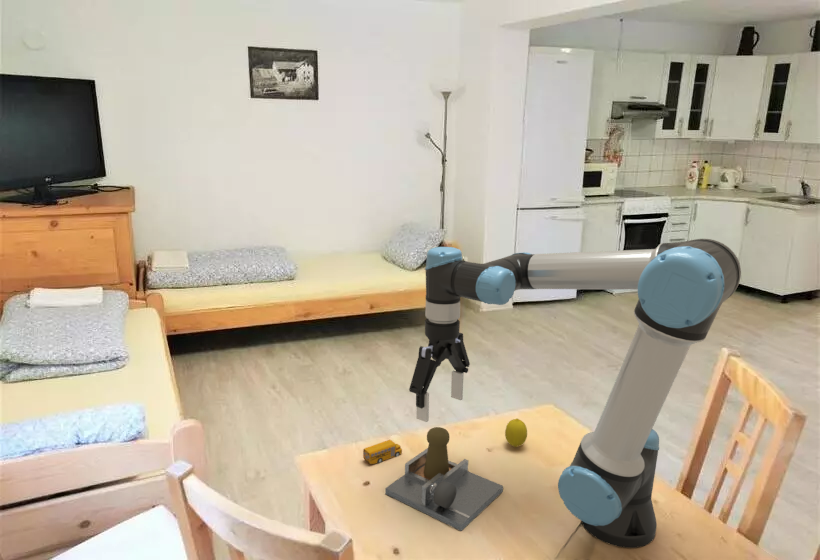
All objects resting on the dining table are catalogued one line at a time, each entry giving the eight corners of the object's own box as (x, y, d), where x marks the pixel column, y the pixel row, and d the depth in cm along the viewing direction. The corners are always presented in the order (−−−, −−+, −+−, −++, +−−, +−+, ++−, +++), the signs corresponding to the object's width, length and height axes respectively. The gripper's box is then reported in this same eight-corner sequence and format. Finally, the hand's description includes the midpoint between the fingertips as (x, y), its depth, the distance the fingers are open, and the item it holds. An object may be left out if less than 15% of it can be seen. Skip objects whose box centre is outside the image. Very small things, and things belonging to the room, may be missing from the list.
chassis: (502, 491, 137) (504, 468, 136) (460, 531, 124) (462, 505, 122) (430, 461, 149) (431, 439, 147) (385, 494, 135) (385, 470, 134)
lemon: (500, 443, 158) (502, 415, 156) (519, 440, 160) (521, 412, 157) (510, 454, 153) (512, 425, 151) (529, 451, 154) (532, 422, 152)
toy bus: (402, 455, 152) (402, 441, 151) (369, 467, 146) (369, 453, 145) (395, 449, 154) (395, 436, 153) (362, 461, 148) (362, 447, 147)
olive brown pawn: (431, 462, 145) (432, 421, 142) (453, 470, 142) (456, 428, 139) (418, 475, 140) (420, 432, 137) (442, 483, 137) (444, 439, 134)
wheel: (455, 501, 130) (456, 480, 129) (442, 512, 126) (443, 491, 125) (444, 496, 132) (445, 476, 131) (431, 507, 128) (432, 486, 127)
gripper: (459, 302, 143) (456, 386, 148) (392, 329, 124) (392, 424, 129) (486, 308, 139) (483, 394, 144) (422, 337, 119) (420, 435, 125)
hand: (440, 408), depth 137 cm, fingers open, 13 cm apart
